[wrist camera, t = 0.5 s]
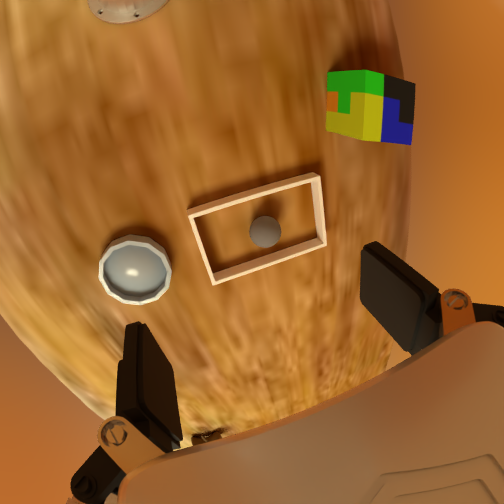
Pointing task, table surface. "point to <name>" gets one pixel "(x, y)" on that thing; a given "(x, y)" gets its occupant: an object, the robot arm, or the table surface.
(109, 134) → the table surface
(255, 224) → the ball
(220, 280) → the white rectangular frame
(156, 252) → the bowl
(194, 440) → the kendama
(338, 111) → the puzzle toy
